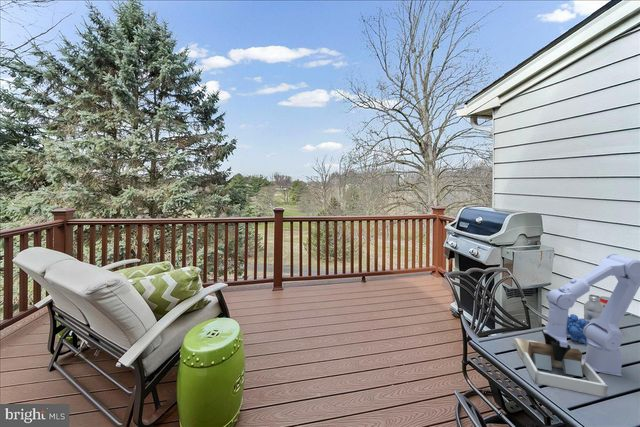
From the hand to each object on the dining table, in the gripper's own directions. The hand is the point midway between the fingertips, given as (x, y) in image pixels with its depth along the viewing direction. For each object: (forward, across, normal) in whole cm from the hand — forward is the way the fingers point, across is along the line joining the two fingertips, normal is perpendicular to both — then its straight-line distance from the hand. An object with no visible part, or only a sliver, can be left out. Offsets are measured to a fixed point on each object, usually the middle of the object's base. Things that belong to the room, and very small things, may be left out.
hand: (553, 354), depth 113 cm
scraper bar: (+1, 0, 0) cm, 1 cm away
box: (+4, +8, 0) cm, 9 cm away
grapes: (+5, -24, +16) cm, 29 cm away
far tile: (+2, +3, -5) cm, 6 cm away
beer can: (+5, -41, +34) cm, 53 cm away
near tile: (+2, +3, +4) cm, 6 cm away
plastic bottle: (+5, -30, +24) cm, 39 cm away
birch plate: (+4, -5, 0) cm, 7 cm away
